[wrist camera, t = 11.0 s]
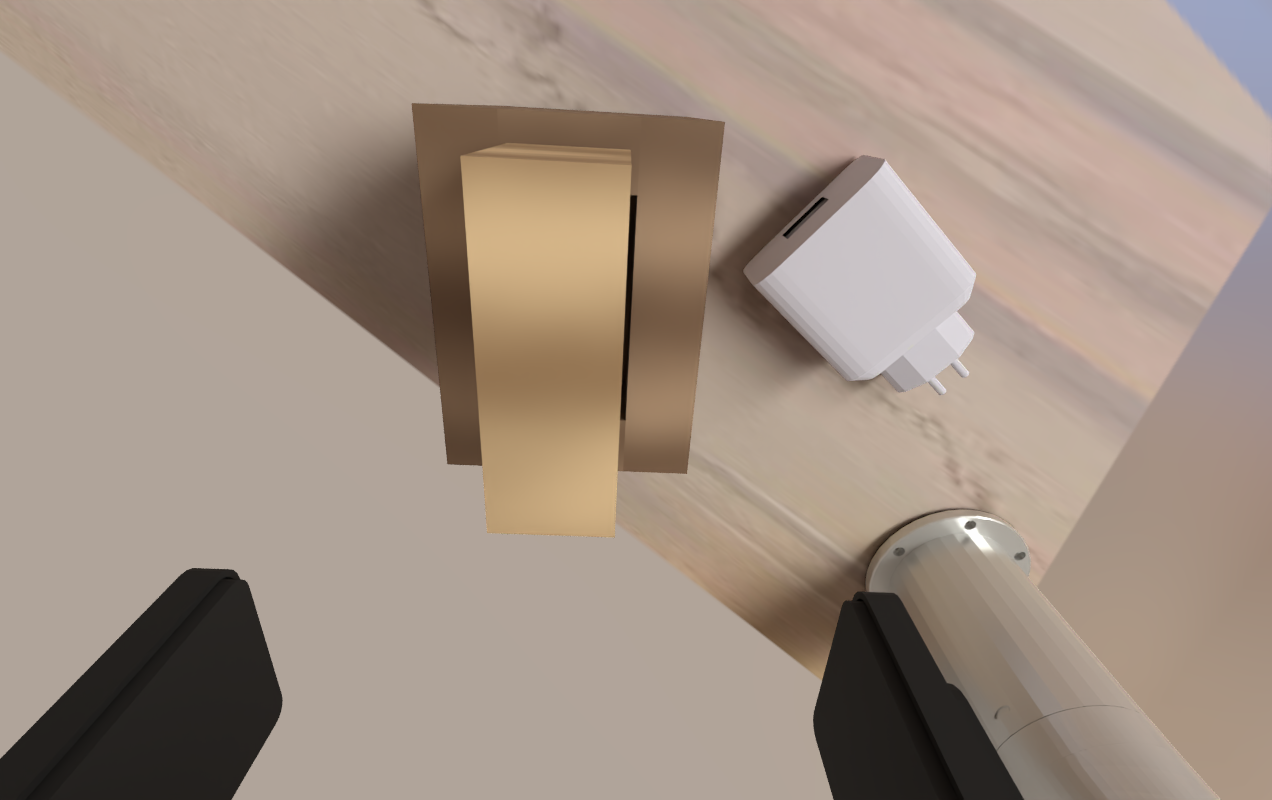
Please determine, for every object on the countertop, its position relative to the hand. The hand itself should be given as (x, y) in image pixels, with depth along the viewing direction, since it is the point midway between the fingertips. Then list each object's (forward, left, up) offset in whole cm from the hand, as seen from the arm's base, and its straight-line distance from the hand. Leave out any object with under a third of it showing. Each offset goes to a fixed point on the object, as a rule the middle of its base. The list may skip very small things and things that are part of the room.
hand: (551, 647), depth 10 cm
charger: (-2, -17, -31) cm, 35 cm away
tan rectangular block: (+1, +1, -19) cm, 19 cm away
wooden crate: (+1, +1, -30) cm, 30 cm away
